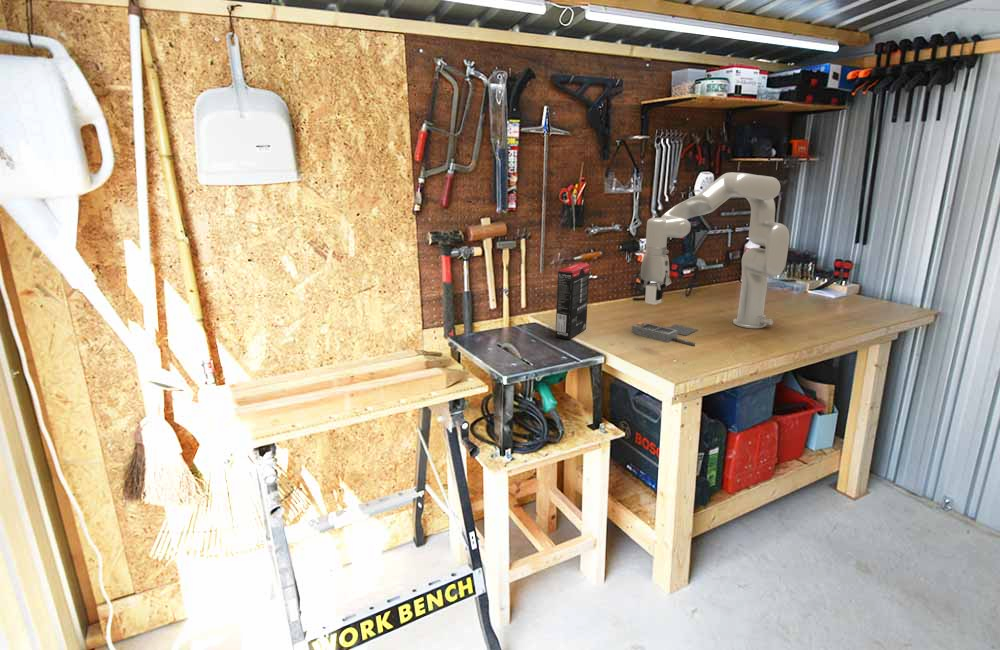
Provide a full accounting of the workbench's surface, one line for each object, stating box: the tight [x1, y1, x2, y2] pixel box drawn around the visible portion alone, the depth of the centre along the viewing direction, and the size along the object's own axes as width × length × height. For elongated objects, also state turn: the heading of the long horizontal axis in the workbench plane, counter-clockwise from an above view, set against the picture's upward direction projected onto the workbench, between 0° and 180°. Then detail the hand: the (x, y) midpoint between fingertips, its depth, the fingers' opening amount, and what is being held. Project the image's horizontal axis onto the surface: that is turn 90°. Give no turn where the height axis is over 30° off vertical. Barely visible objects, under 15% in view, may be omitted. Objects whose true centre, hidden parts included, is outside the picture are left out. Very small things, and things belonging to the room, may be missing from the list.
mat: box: [667, 324, 699, 337], centre depth 219 cm, size 10×10×1 cm
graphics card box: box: [555, 262, 591, 340], centre depth 214 cm, size 17×7×27 cm, turn 149°
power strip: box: [631, 321, 696, 347], centre depth 210 cm, size 25×7×4 cm, turn 43°
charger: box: [644, 282, 662, 306], centre depth 210 cm, size 4×4×7 cm
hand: (653, 297), depth 211 cm, fingers closed on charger, 4 cm apart
